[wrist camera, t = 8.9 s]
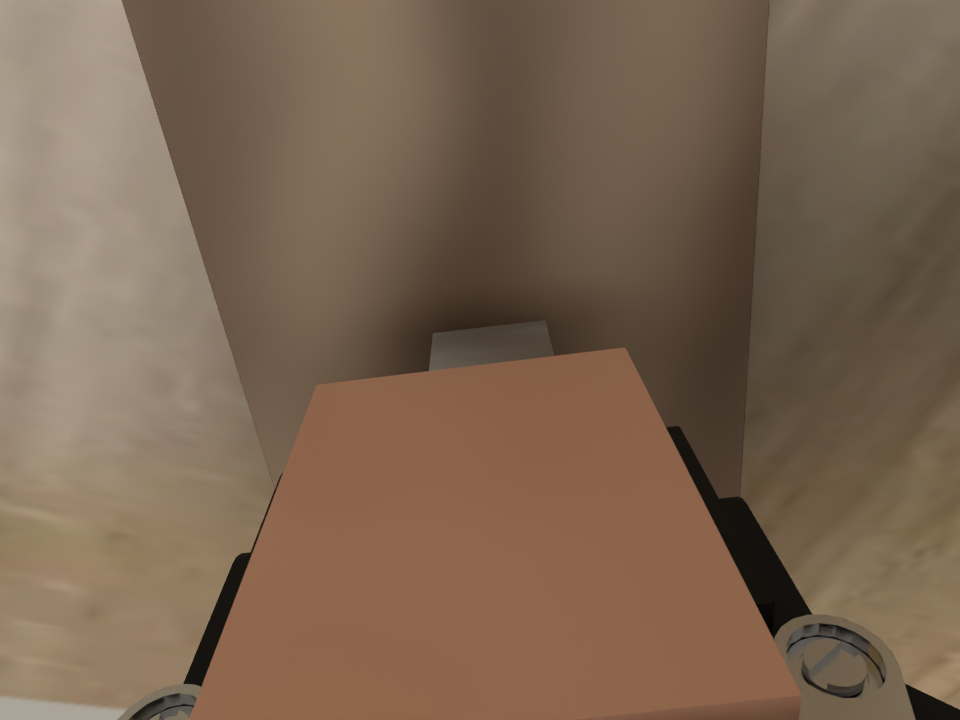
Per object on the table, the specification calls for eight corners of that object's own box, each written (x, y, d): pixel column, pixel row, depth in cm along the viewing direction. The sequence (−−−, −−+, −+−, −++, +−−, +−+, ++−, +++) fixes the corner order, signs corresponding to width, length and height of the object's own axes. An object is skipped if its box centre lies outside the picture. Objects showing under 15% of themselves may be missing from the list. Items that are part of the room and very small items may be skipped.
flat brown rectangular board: (745, -96, 14) (981, -188, 7) (716, 584, 22) (817, 816, 15) (149, -13, 14) (-104, -34, 8) (337, 623, 22) (286, 864, 16)
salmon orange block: (625, 347, 12) (802, 696, 6) (632, 581, 14) (762, 1002, 8) (316, 384, 12) (172, 762, 6) (374, 609, 14) (313, 1045, 8)
